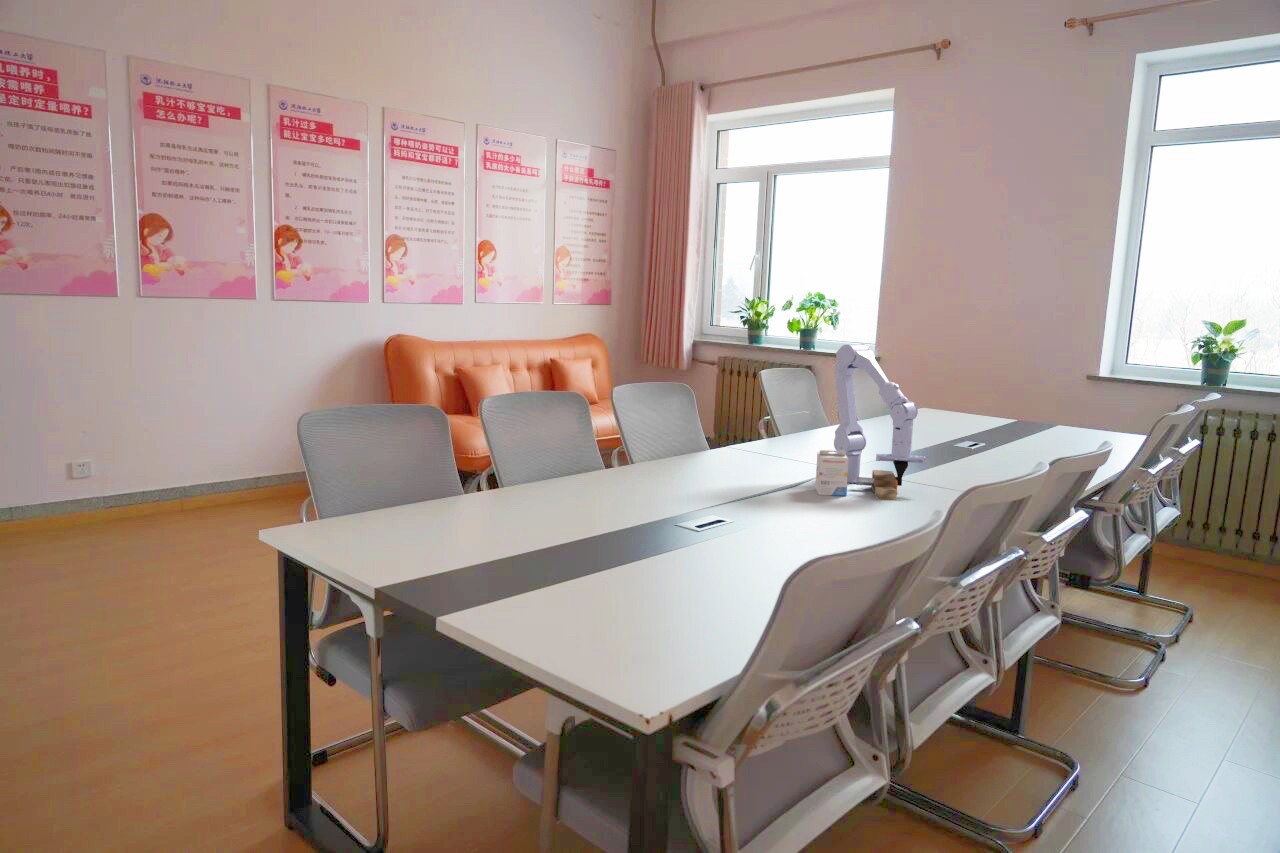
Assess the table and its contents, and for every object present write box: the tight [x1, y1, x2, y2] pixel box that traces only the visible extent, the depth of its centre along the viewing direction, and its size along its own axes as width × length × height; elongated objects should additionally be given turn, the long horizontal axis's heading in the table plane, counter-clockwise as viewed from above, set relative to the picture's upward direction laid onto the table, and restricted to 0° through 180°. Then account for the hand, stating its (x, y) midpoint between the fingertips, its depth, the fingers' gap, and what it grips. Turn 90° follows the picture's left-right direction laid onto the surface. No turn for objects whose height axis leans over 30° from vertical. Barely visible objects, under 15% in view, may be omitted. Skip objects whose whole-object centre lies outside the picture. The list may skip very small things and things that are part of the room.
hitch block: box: [871, 469, 897, 495], centre depth 264 cm, size 6×10×5 cm, turn 169°
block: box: [874, 487, 898, 500], centre depth 255 cm, size 5×4×3 cm
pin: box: [855, 476, 898, 491], centre depth 264 cm, size 12×4×4 cm, turn 79°
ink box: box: [815, 449, 848, 497], centre depth 259 cm, size 9×8×13 cm
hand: (898, 485), depth 263 cm, fingers closed
